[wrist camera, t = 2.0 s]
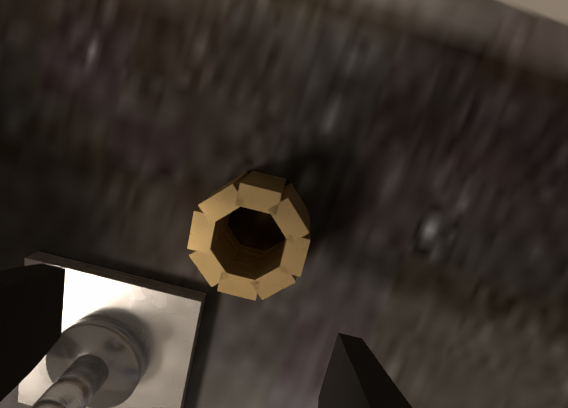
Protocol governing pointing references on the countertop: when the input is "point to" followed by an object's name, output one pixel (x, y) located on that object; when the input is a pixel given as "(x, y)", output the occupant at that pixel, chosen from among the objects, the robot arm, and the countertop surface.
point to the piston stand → (116, 341)
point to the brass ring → (241, 259)
